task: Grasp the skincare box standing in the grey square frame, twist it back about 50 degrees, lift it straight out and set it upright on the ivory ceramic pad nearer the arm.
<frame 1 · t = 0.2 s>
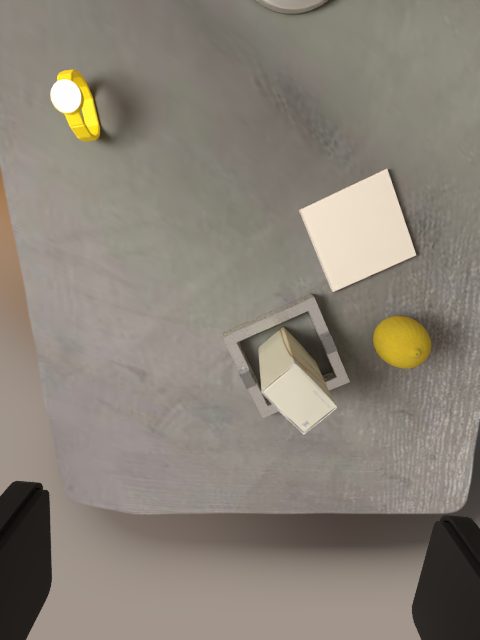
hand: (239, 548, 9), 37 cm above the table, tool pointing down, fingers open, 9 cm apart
lemon: (386, 330, 46), on the table
skincare box: (285, 353, 47), resting in grey square frame
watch: (91, 114, 40), on the table
pad: (356, 232, 43), on the table
grey square frame: (285, 354, 47), on the table
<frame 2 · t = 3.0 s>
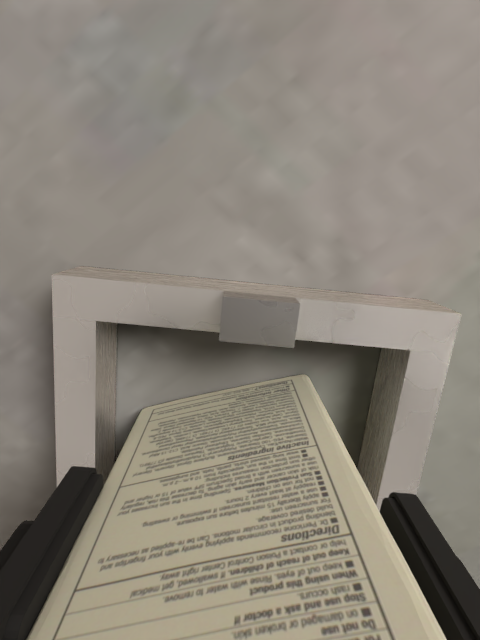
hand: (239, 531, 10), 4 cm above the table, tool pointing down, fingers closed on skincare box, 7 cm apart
skincare box: (239, 434, 14), resting in grey square frame, touching gripper
grey square frame: (239, 437, 14), on the table
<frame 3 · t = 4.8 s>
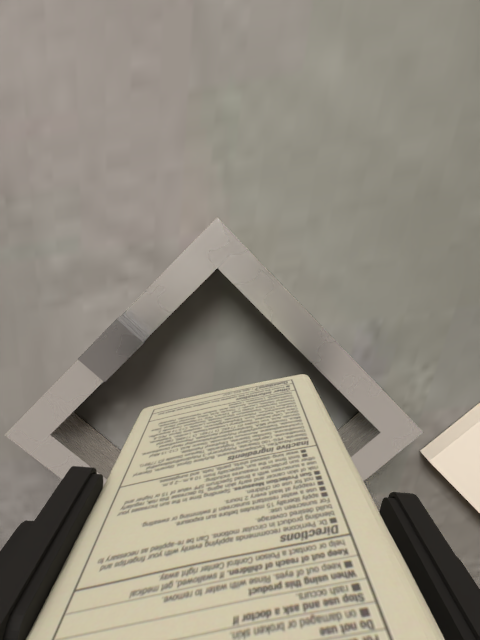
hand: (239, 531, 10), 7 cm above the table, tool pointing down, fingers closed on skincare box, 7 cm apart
skincare box: (239, 434, 14), point 3 cm above the table, touching gripper
grey square frame: (218, 409, 17), on the table
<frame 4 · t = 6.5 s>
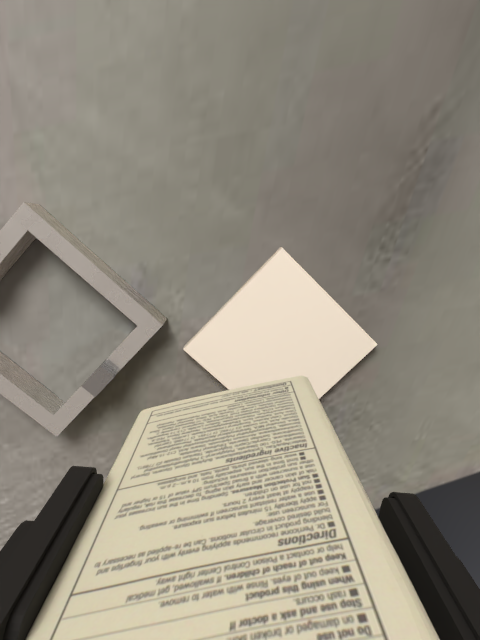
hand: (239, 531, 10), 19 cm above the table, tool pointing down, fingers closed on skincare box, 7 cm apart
skincare box: (238, 436, 14), point 14 cm above the table, touching gripper
pad: (279, 343, 28), on the table
grey square frame: (54, 321, 27), on the table
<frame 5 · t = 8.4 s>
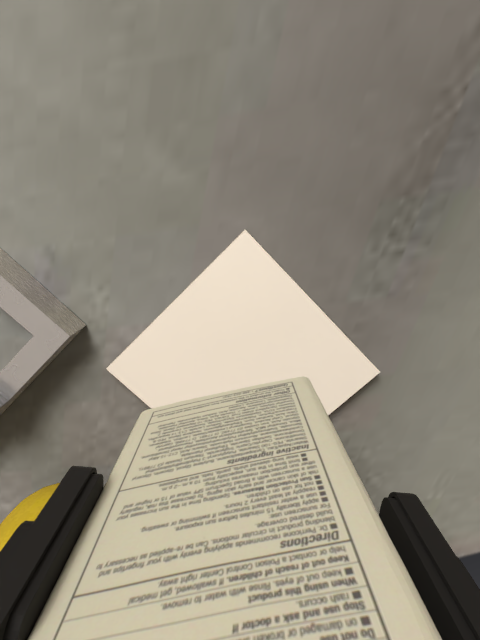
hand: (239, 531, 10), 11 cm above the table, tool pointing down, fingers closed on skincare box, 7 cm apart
lemon: (85, 492, 23), on the table
skincare box: (239, 436, 14), point 7 cm above the table, touching gripper
pad: (243, 364, 20), on the table
when the fingers open (6 cm above the table, at t = 9.9 s): skincare box drops 1 cm, resting on pad.
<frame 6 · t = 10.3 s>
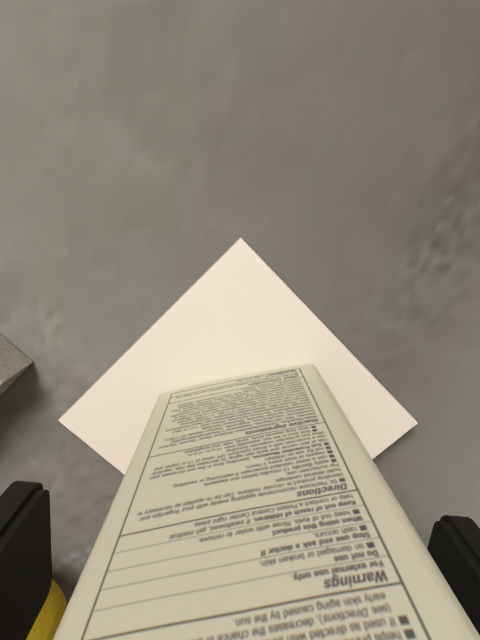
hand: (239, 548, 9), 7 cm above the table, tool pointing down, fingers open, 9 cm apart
lemon: (39, 568, 18), on the table
skincare box: (249, 419, 15), point 1 cm above the table, touching pad
pad: (238, 411, 16), on the table
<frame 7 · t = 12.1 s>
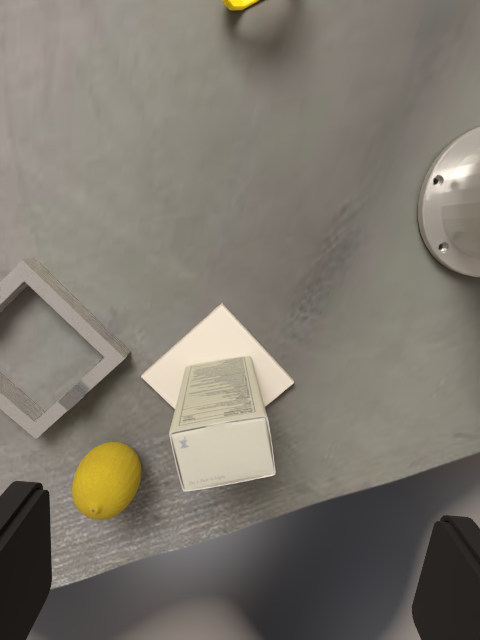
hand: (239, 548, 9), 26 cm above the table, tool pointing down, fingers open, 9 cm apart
lemon: (120, 450, 38), on the table
skincare box: (223, 379, 35), point 1 cm above the table, touching pad
pad: (218, 376, 36), on the table
grey square frame: (40, 347, 35), on the table
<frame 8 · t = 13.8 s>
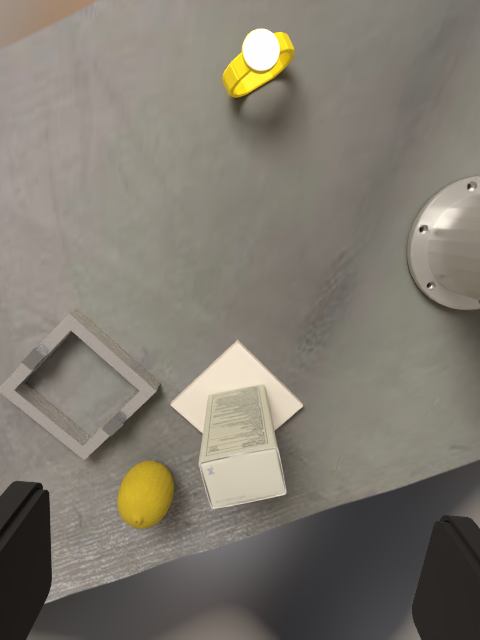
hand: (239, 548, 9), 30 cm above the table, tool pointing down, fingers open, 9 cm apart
lemon: (155, 467, 44), on the table
skincare box: (241, 404, 41), point 1 cm above the table, touching pad
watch: (256, 79, 34), on the table
pad: (237, 402, 41), on the table
grey square frame: (84, 382, 41), on the table
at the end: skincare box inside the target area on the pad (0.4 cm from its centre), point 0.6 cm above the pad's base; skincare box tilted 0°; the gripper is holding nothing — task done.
